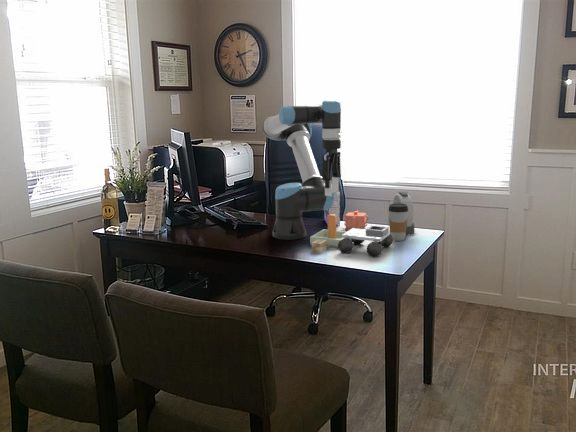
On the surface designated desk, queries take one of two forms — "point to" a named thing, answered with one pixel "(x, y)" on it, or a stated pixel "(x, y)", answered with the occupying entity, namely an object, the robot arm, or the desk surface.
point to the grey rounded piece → (406, 199)
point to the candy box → (334, 209)
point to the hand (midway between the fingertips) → (331, 194)
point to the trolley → (373, 233)
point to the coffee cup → (398, 221)
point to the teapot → (355, 220)
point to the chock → (319, 245)
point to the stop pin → (332, 226)
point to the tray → (324, 236)
